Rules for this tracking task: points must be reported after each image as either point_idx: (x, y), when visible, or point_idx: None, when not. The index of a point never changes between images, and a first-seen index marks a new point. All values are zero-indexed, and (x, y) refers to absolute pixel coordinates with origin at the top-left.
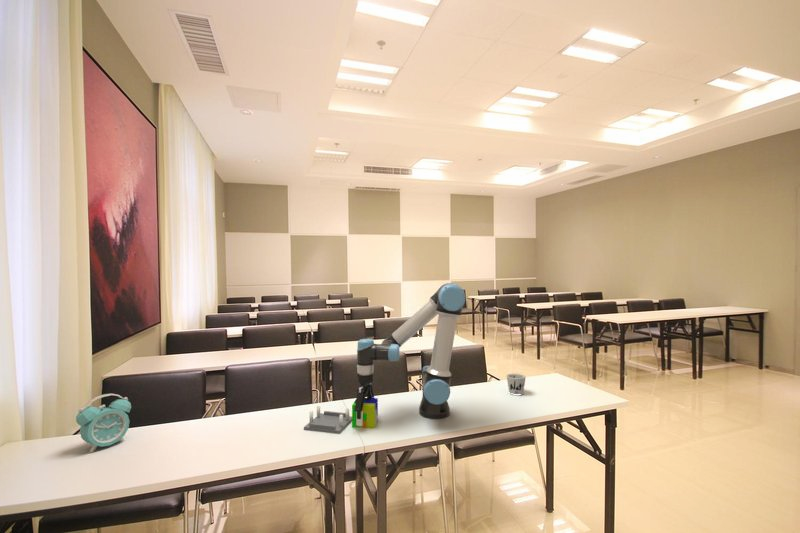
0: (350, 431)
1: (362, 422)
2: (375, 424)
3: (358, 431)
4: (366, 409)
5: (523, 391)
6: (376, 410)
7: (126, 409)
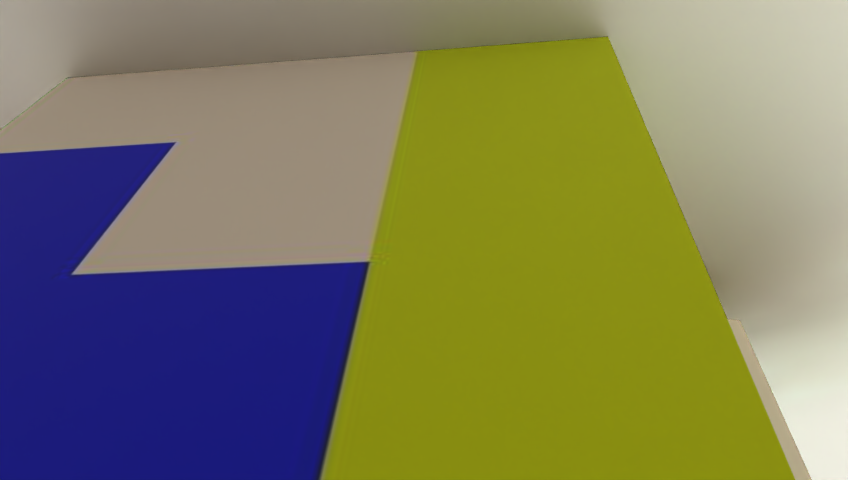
0: None
1: None
2: (399, 57)
3: (769, 313)
4: None
5: None
6: (127, 224)
7: None
